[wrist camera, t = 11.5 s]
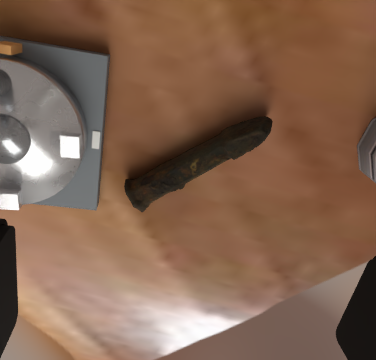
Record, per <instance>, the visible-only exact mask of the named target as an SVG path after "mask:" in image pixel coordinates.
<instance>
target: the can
mask: <svg viewBox="0 0 376 360" xmlns="http://www.w3.org/2000/svg"><path fill="white" fill-rule="evenodd" d="M357 150H358V161H359V170H361V171H362V172H363V173H364V174H365V175H367V176H368V177H369V178H370V179H371V180H373V181H374V182H375V183H376V118H374V119H373V120H371V122H370V124H369V125H368V127H367V129H366V131H365V132H364V134H363V136H362V138H361V140H360V141H359V143H358V145H357Z"/></svg>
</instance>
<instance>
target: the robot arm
mask: <svg viewBox="0 0 376 360" xmlns="http://www.w3.org/2000/svg"><path fill="white" fill-rule="evenodd" d="M17 316H18V296H17V268H16V241H15V228H14V227H13V226H8V224H7V221H6V220H5V219H0V358H1V355H2V353H3V351H4V349H5V347H6V344H7V342H8V340H9V337H10V335H11V333H12V331H13V329H14V327H15V324H16V320H17ZM336 338H337V341H338V343H339V345H340V347H341V349H342V350H343V352H344V354H345V355H346V357H347V359H348V360H376V256H375V257H374V258H373V259H371V260H370V261H369V262H368V263H367V266H366V268H365V270H364V272H363V274H362V276H361V278H360V280H359V282H358V285H357V287H356V289H355V291H354V293H353V295H352V297H351V299H350V301H349V303H348V306H347V308H346V310H345V312H344V314H343V316H342V318H341V320H340V323H339V325H338V327H337V329H336Z"/></svg>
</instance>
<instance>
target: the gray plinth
mask: <svg viewBox="0 0 376 360" xmlns="http://www.w3.org/2000/svg"><path fill="white" fill-rule="evenodd" d="M0 56H12V57H18V58H22V59H25V60H29V61H31V62H33V63H36V64H38V65H40V66H42V67H44V68H45V69H47V70H49V71H50V72H51V73H53V74H54V75H56V76H57V77H58V78H59V79H60V80H61V81H62V82H63V83H65V85H66V86H67V87H68V88H69V89H70V90H71V92H72V93H73V94H74V96H75V97H76V99H77V101H78V102H79V104H80V106H81V108H82V111H83V114H84V117H85V120H86V125H87V135H88V136H87V146H86V151H85V154H84V157H83V159H82V161H81V163H80V165H79V167H78V169H77V171H76V173H75V175H74V177H73V178H72V179H71V181H70V182H69V183H68V184H67V185H66V186H65V187H64V188H63V189H62V190H61V191H59V192H58V193H57V194H55V195H53V196H51V197H49V198H48V199H45V200H42V201H40V202H35V203H31V204H39V205H49V206H59V207H69V208H79V209H88V210H97V206H98V203H99V192H100V179H101V166H102V153H103V140H104V127H105V114H106V101H107V88H108V75H109V62H110V54H104V53H98V52H93V51H87V50H81V49H75V48H69V47H63V46H58V45H52V44H46V43H40V42H34V41H28V40H23V39H17V38H11V37H5V36H0Z"/></svg>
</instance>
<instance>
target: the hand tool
mask: <svg viewBox="0 0 376 360" xmlns="http://www.w3.org/2000/svg"><path fill="white" fill-rule="evenodd" d="M271 127H272V120H271V119H270V118H269V117H265V116H264V117H258V118H254V119H251V120H248V121H244V122H241V123H240V124H237V125H234V126H231V127H228V128H226V129H224V130H223V131H222V132H221V134H219V135H218V136H216V137H214V138H212V139H210V140H208V141H206V142H204V143H202V144H200V145H198V146H197V147H195V148H192V149H190V150H188V151H186V152H185V153H183V154H182V155H180V156H178V157H176V158H174V159H172V160H170V161H168V162H166V163H164V164H161V165H159V166H158V167H157V168H155V169H153V170H152V171H150V172H148V173H146V174H145V175H143V176H141V177H139V178H137V179H134V180H129V179H126V180H125V186H124V187H125V192H126V195H127V196H128V198H129V200H130V201H131V203H132V205H133V207H135V208H137V209H138V210H140V211H141V212H144V211H145V209H146V208H147V207H148V206H149V204H150V203H152V202H153V201H155V200H157V199H158V198H160V197H162V196H164V195H165V194H167V193H169V192H172V191H176V190H177V189H182V188H184V186H185V184H186V183H187V182H189V181H191V180H193V179H194V178H196V177H198V176H200V175H202V174H204V173H205V172H207V171H209V170H211V169H213V168H214V167H216V166H218V165H219V164H221V163H223V162H225V161H227V160H229V159H231V158H232V159H234V160H235V159H237V158H239V157H240V156H243V155H244V154H245V153H246V152H249V151H251V150H253V149H254V148H255V147H257V146H259V145H260V144H261V143H262V142H263V141H265V139H266V138H267V136H268V135H269V134H270V132H271Z"/></svg>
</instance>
